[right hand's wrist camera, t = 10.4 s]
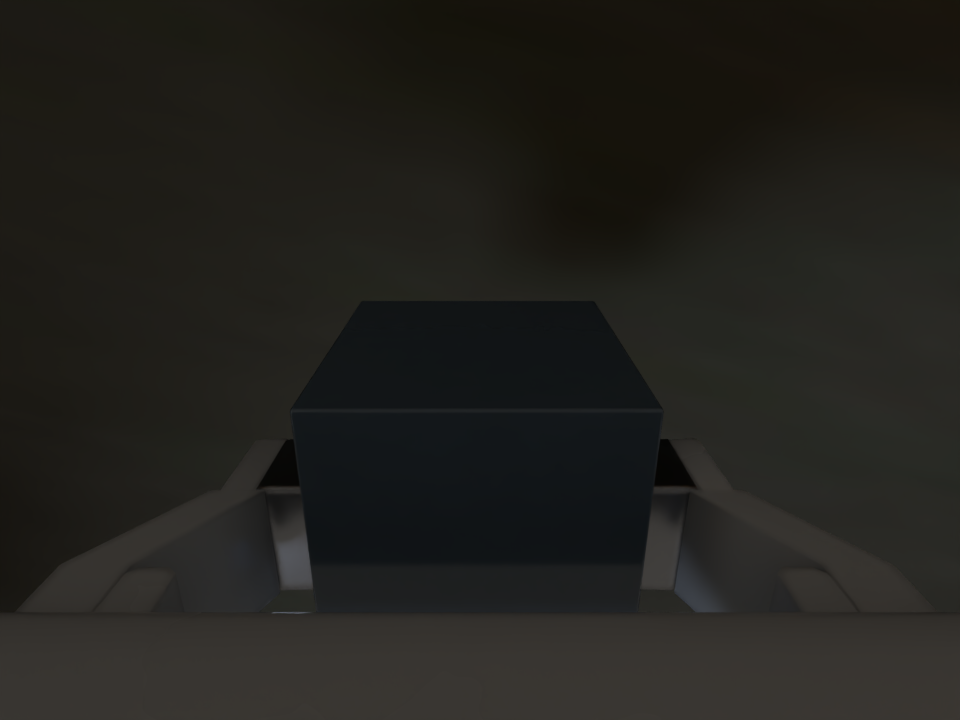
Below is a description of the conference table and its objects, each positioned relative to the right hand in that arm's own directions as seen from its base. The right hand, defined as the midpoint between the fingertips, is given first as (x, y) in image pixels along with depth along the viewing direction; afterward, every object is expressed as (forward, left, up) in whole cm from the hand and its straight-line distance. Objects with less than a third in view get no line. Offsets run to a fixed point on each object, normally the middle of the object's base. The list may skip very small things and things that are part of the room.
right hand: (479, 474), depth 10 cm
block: (0, 0, -2) cm, 2 cm away
